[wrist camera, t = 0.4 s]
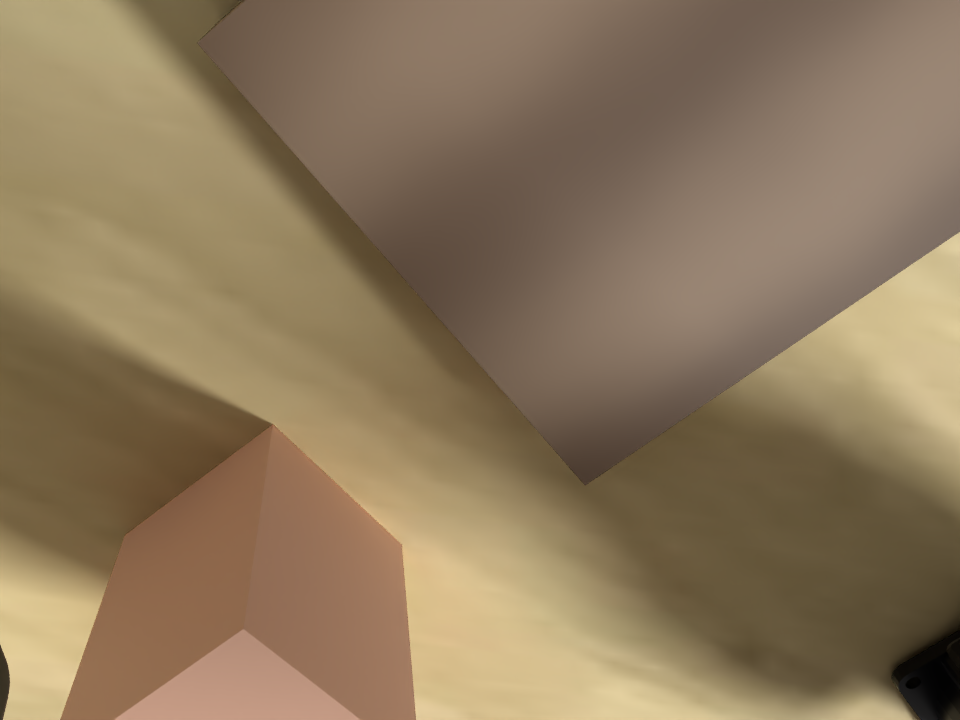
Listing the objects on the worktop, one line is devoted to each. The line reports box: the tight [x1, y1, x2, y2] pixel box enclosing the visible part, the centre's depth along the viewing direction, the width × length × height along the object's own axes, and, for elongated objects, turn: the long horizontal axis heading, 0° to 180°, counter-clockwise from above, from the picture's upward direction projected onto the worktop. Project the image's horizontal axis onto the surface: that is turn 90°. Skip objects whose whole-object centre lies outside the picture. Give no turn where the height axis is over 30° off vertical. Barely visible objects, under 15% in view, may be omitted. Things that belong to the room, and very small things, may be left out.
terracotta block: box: [60, 424, 416, 720], centre depth 21 cm, size 5×5×7 cm
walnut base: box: [197, 0, 960, 485], centre depth 18 cm, size 12×12×3 cm
